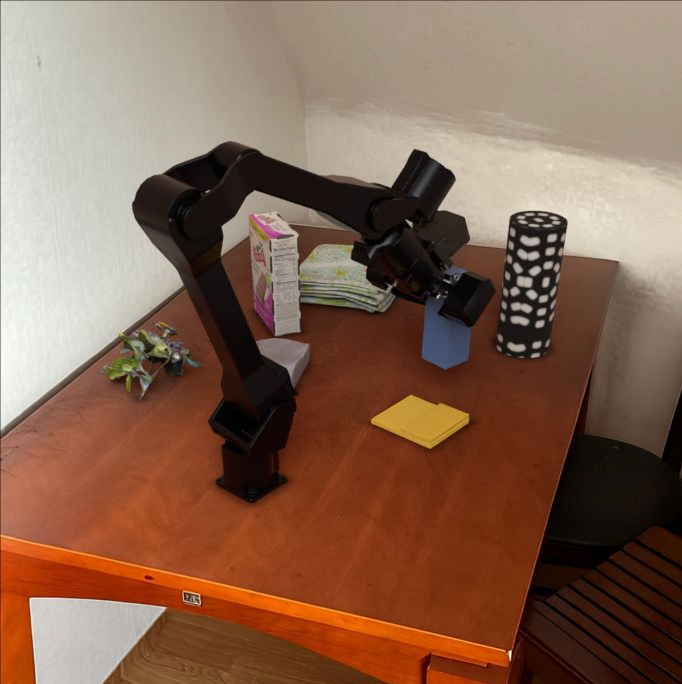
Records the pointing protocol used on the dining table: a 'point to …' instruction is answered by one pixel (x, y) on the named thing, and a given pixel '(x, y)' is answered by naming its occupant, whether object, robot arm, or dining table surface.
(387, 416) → the cloth
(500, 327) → the spotted tube
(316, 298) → the towel
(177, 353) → the passion flower
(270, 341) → the stone block
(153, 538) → the dining table surface
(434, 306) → the block
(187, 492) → the dining table surface
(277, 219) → the candy bar box
